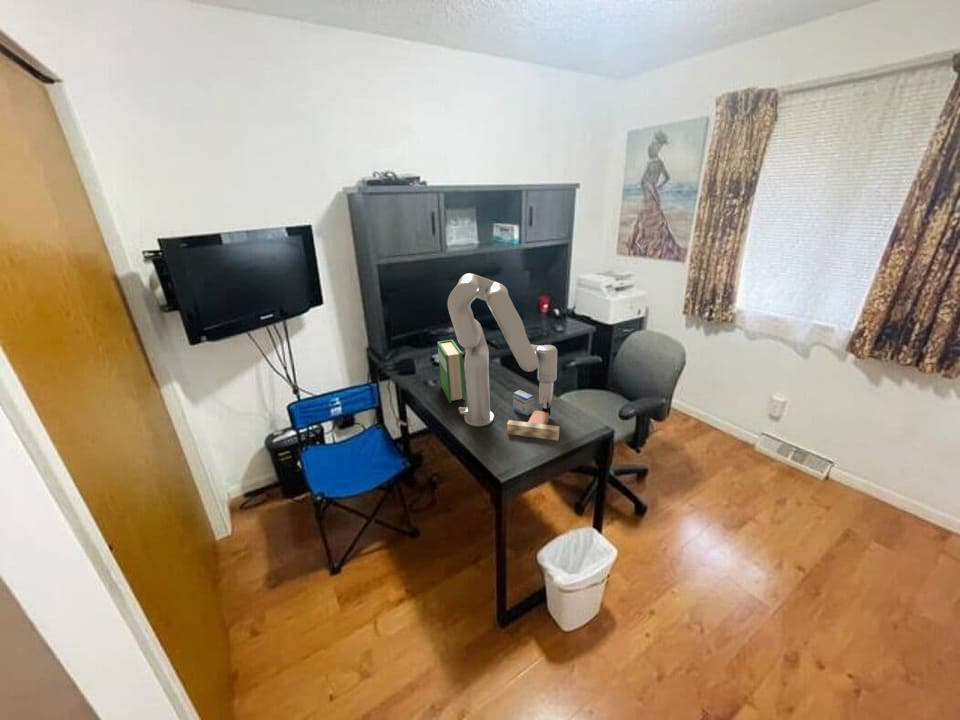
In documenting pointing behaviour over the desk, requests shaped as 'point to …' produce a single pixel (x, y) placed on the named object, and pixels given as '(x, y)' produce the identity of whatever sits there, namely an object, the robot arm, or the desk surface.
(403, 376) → the desk surface
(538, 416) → the block
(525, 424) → the board
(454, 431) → the desk surface
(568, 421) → the desk surface
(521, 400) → the medicine box
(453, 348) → the hardback book
